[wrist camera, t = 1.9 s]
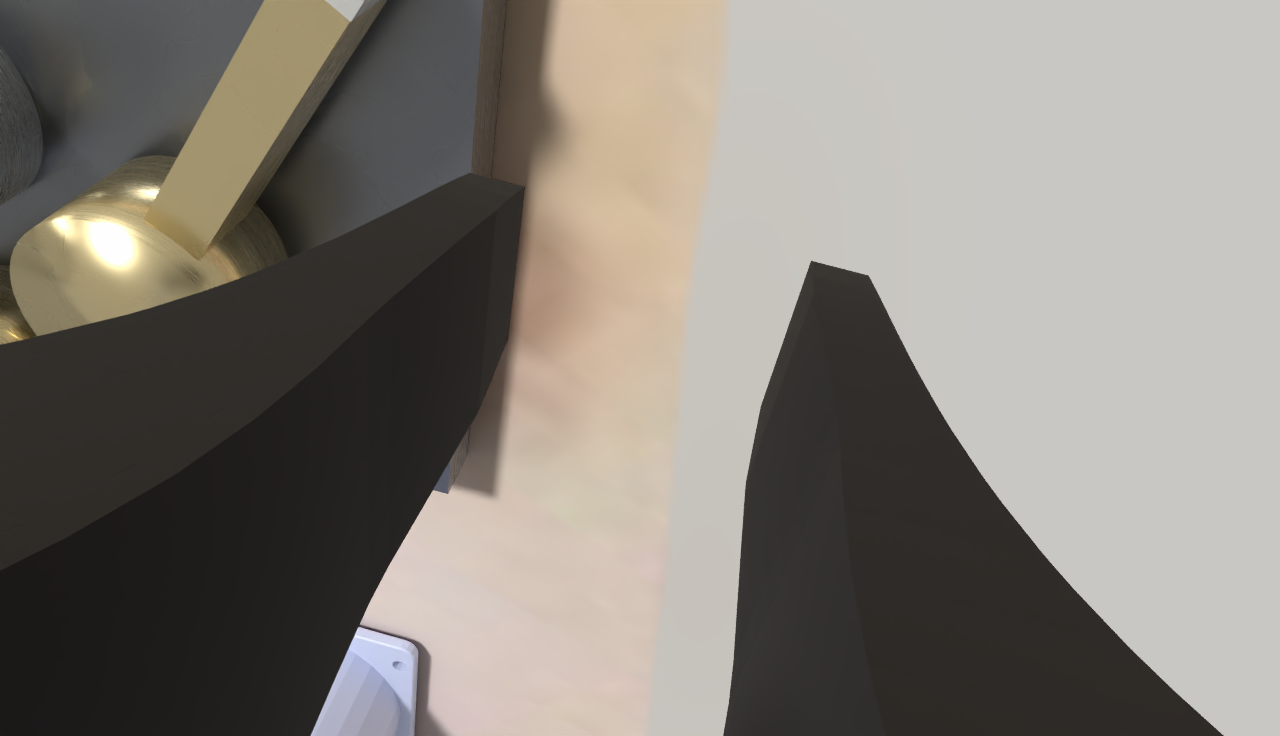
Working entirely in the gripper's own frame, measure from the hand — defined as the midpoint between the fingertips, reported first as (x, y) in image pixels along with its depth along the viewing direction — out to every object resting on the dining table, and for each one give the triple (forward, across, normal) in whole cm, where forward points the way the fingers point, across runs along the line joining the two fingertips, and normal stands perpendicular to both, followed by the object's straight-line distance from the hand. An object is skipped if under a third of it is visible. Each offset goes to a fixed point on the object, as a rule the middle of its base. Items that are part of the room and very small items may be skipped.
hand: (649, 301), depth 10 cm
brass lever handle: (+8, +9, +4) cm, 12 cm away
